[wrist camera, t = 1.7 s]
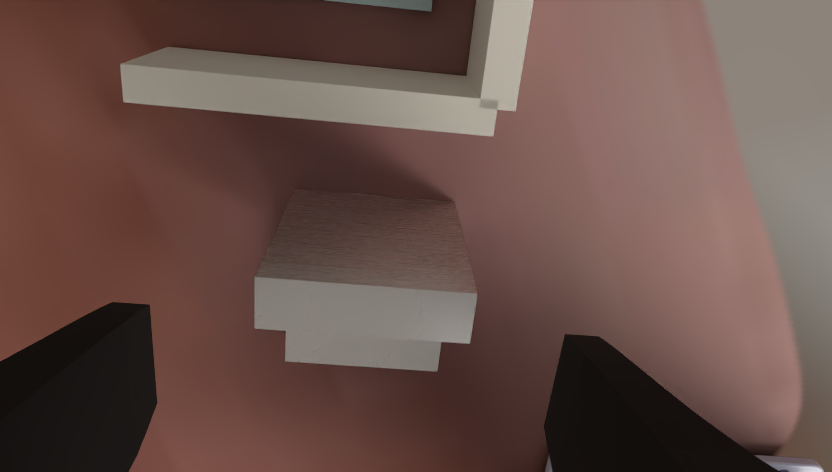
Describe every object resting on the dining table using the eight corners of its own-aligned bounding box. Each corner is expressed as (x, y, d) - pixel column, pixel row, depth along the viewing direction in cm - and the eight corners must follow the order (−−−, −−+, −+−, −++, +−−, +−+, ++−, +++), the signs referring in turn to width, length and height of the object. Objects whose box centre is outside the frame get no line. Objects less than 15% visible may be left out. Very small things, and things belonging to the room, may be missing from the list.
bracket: (295, 187, 18) (254, 276, 12) (455, 200, 18) (477, 293, 13) (291, 339, 20) (254, 469, 14) (435, 349, 20) (447, 480, 15)
